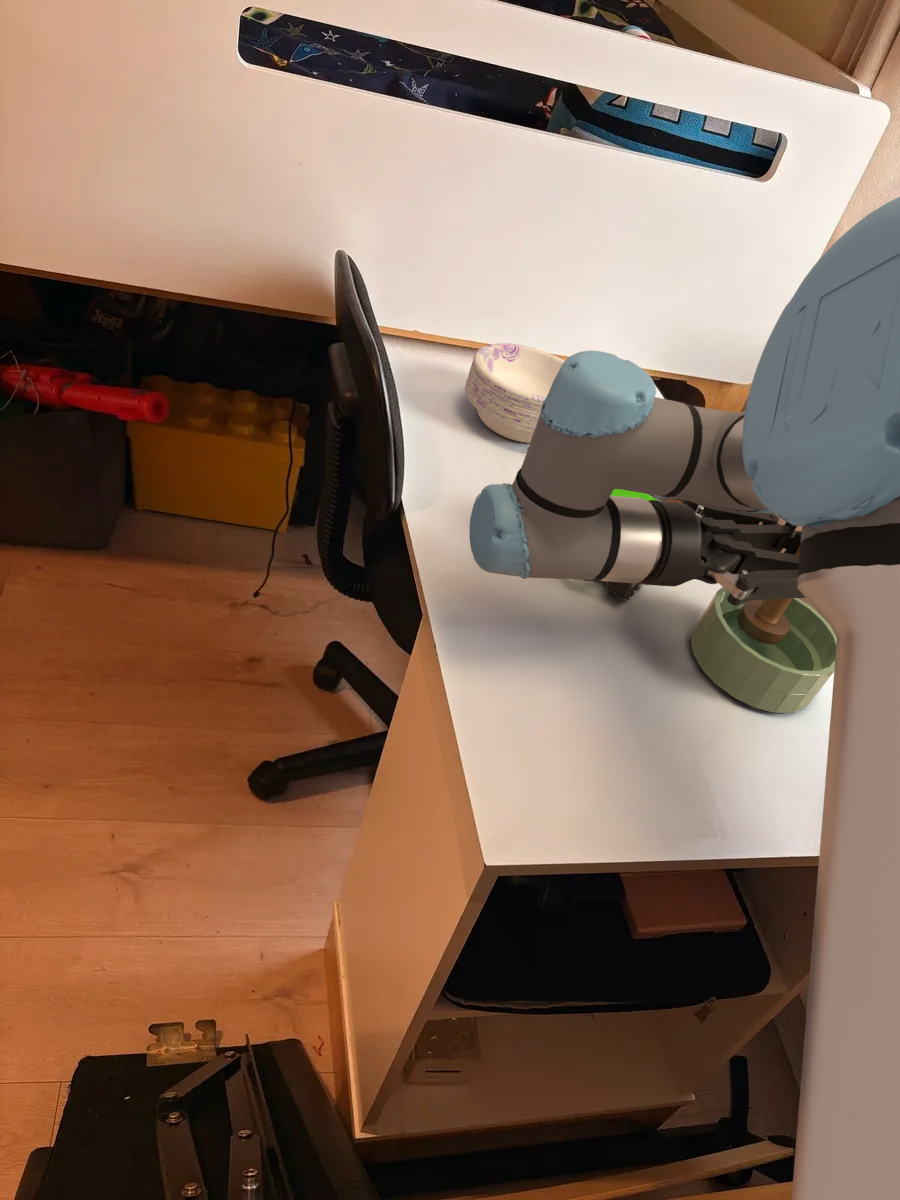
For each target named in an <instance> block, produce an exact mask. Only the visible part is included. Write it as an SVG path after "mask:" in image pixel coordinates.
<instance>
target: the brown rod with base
mask: <svg viewBox="0 0 900 1200" xmlns="http://www.w3.org/2000/svg"><path fill="white" fill-rule="evenodd" d="M794 555H800V546H799V548H798V549H797V551H796V552H795V554H794ZM792 599H793V598H792ZM792 599H770V600H764V601H759V600H750V601H747V602H746V603H745V604H744V605H743V607H742V608H741V610H740V611H739V613H738V615H737V622H738V624H739V626H740V628H741V629H742V630H743V631H744V632H745V633H746V634H747V635H748V636H750V637H751V638H753V639H755V640H757V641H759V642H762V643H765V644H778V643H780V642H781V641H782V640H783V638H784V637H785V636H786V634H787V633H788V631H789V629H790V623H789V620H788V619H787V617H786V616H785V615H784V614H783V613H784V611H785V610H786V608H787V607H788V605H789V604H790V602H791V601H792Z"/></svg>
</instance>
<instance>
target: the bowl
mask: <svg viewBox="0 0 900 1200" xmlns="http://www.w3.org/2000/svg"><path fill="white" fill-rule="evenodd" d="M729 594H730V592H729V591H727V590H726V589H725V588H724V587H722V586H721V587H720V588H719V589H718V590H717V591H716V592H715V594H714V596H713V598H712V599H711V601H710V602H709V604H708V606H706V609H705V611H704V612H703V614H702V616H701V617H700V619H699V621H698V622H697V623H696V626H695V627H694V629H693V632H692V635H691V638H690V643H691V648H692V654H693V656H694V657H695V659H696V662H697V663H698V665H699V666H700V668H701V670H702V671H703V672H704V673H705V675H706V676H707V677H708V678H709V679H710V680H711V681H712V682H713V683H714V684H715V685H716V686H717V687H719V688H720V689H721V690H722V691H724V692H726V693H727V694H729V695H730V696H731V697H733V698H734V699H736V700H738V701H740V702H742V703H744V704H746V705H748V706H749V707H752V708H755V709H759V710H762V711H766V712H769V713H774V714H786V713H787V714H792V713H795V712H798V711H800V710H804V709H806V708H807V707H808V705H810V703H811V702H812V701H813V700H814V699H815V697H816V696H817V694H818V693H819V692H820V691H821V689H822V688H823V687H824V685H825V684H826V683H827V682H828V680H829V679H830V678H831V677H832V675H834V669H835V657H836V644H837V638H836V636H835V634H834V632H833V630H832V628H831V626H830V624H829V623H828V622H827V621H826V620H825V619H824V617H823V616H822V615H821V614H820V613H819V612H818V611H817V610H816V609H815V608H814V607H812V606H811V605H809V603H807V602H805V601H803V600H802V599H801V598H793V599H792V601H791V602H790V604H789V605H788V607H787V608H786V610H785V611H784V613H783V614H784V615H785V616H786V617H787V619H788V620H789V623H790V629H789V631H788V633H787V634H786V636H785V637H784V638H783V640H782V641H781V642H780V643H778V644H765V643H762V642H759V641H757V640H755V639H753V638H751V637H750V636H748V635H747V634H746V633H745V632H744V631H743V630H742V629H741V628H740V626H739V624H738V622H737V615H738V613H739V611H740V610H741V608H742V607H743V605H744V604H745V603H746V602H745V603H743V604H741V605H739V606H734V605H732V604H730V603H729V602H728V601H727V597H728V596H729ZM749 601H750V600H749ZM759 601H764V600H759Z"/></svg>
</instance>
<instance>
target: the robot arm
mask: <svg viewBox="0 0 900 1200" xmlns="http://www.w3.org/2000/svg"><path fill="white" fill-rule="evenodd" d="M564 361H565V362H564V363H563V364H562V366H561V368H560V370H559V372H558V374H557V375H556V377H555V379H554V381H553V383H552V386H551V388H550V390H549V393H548V395H547V397H546V398H545V400H544V403H543V404H542V407H541V413H540V416H539V419H538V422H537V425H536V427H535V430H534V433H533V436H532V439H531V442H530V443H528V447H527V451H526V452H525V453H526V454H525V456H524V459H523V461H522V465H521V466H520V469H518V471H517V472H516V475H515V477H514V481H513V482H512V484H511V483H507V482H502V483H495V484H494V483H492V484H488V485H486V486H484V487H483V489H481V491H480V493H478V495H477V496H476V498H475V500H474V502H473V506H472V508H471V514H470V518H469V534H468V535H469V536H468V537H469V545H470V551H471V553H472V556H473V560H474V561H475V563H476V565H477V566H478V567H479V568H480V569H481V570H483V571H484V572H487V573H490V574H497V575H505V576H511V577H519V578H521V579H524V580H525V579H556V580H557V579H559V580H560V579H561V580H580V581H581V580H583V581H586V582H588V581H589V582H608V581H609V582H622V583H640V585H642V584H643V585H644V586H657V587H658V586H659V587H678V586H680V585H683V584H685V583H687V582H690V581H693V580H696V581H700V582H704V583H705V584H708V585H717V584H719V585H720V586H721V588H722V587H724V588H725V589H726V590H727V591H729V592H730V594H729V596H728V597H727V601H728V602H729V603H730V604H732V605H734V606H739V605H741V604H743V603H745V602H747V601H749V600H770V599H792V598H799V599H806V600H807V601H808V602H809V603H810V604H811V605H812V606H813V608H814V609H815V611H817V612H818V613H819V614H820V615H821V616H822V617H823V618H824V619H825V620H826V621H827V622H828V623H829V625H830V626H831V628H832V630H833V632H834V634H835V636H836V638H837V644H836V657H835V669H834V673H833V682H832V683H833V684H832V685H833V686H832V695H831V707H830V718H829V719H830V720H829V732H828V745H827V758H826V769H825V770H826V771H825V782H824V793H823V795H824V796H823V807H822V819H821V829H820V831H821V832H820V842H819V854H818V867H817V879H816V880H817V881H816V892H815V904H814V905H815V906H814V919H813V928H812V929H813V930H812V940H811V941H812V942H811V954H810V966H809V979H808V981H809V982H808V991H807V1001H806V1002H807V1004H806V1015H805V1027H804V1038H803V1039H804V1040H803V1054H802V1067H801V1079H800V1089H799V1102H798V1112H797V1113H798V1114H797V1115H798V1116H797V1127H796V1138H795V1139H796V1140H795V1149H794V1150H795V1151H794V1152H795V1153H794V1162H793V1163H794V1165H793V1177H792V1189H791V1200H900V196H898V197H896V198H894V199H892V200H890V201H888V202H886V203H884V204H882V205H881V206H880V207H877V208H876V209H874V210H873V211H871V212H870V213H868V214H867V215H866V216H864V217H863V218H862V219H859V221H857V222H856V223H855V224H854V225H852V226H851V227H850V228H849V229H848V230H846V232H844V233H843V234H842V235H841V236H840V237H839V238H838V239H837V240H836V241H834V243H833V244H832V245H831V246H830V247H829V248H828V249H827V250H826V251H825V252H824V254H823V255H822V256H821V257H820V258H819V259H818V260H817V261H816V263H815V264H814V265H813V266H812V267H811V269H810V270H809V271H808V273H807V274H806V275H805V276H804V278H803V280H802V281H801V283H800V284H799V286H798V287H797V290H795V292H794V294H793V296H792V297H791V299H790V300H789V302H788V303H787V304H786V305H785V307H784V308H783V310H782V312H781V313H780V315H779V317H778V319H777V320H776V323H775V324H774V326H773V329H772V331H771V333H770V335H769V337H768V339H767V341H766V343H765V345H764V348H763V350H762V352H761V355H760V358H759V360H758V363H757V366H756V368H755V371H754V375H753V378H752V381H751V384H750V389H749V392H748V396H747V400H746V405H745V410H744V411H739V412H738V411H726V410H720V409H715V408H708V407H702V406H696V405H692V404H690V403H684V402H680V401H675V400H670V399H666V398H661V397H656V394H657V389H656V384H655V382H654V380H653V378H652V377H651V376H650V374H649V373H648V372H647V371H645V370H644V369H643V368H642V367H641V366H640V365H638V364H636V363H634V362H633V361H631V360H629V359H622V358H620V357H619V356H617V355H616V354H613V353H610V352H605V351H601V350H584V351H578V352H577V353H573V354H572V355H570V356H568V357H567V358H566V359H565V360H564ZM614 489H621V490H627V491H633V492H639V493H645V494H648V495H650V496H658V497H661V498H662V497H663V498H666V499H668V498H670V499H671V498H672V499H675V500H676V499H682V500H683V502H682V503H677V502H667V501H664V500H658V499H657V500H658V501H657V500H649V501H647V500H645V499H642V498H633V497H621V496H610V495H611V493H612V491H613V490H614ZM780 519H781V520H782V521H783V522H785V523H784V524H780V523H779V521H780ZM760 523H761V524H760ZM798 527H801V530H797V528H798ZM799 546H800V555H794V554H795V552H796V551H797V549H798V548H799ZM783 549H784V552H782V551H783Z"/></svg>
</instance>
